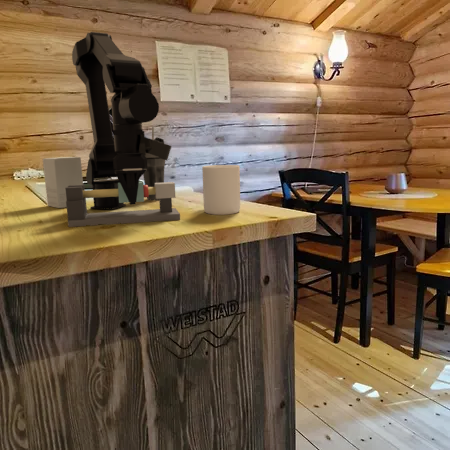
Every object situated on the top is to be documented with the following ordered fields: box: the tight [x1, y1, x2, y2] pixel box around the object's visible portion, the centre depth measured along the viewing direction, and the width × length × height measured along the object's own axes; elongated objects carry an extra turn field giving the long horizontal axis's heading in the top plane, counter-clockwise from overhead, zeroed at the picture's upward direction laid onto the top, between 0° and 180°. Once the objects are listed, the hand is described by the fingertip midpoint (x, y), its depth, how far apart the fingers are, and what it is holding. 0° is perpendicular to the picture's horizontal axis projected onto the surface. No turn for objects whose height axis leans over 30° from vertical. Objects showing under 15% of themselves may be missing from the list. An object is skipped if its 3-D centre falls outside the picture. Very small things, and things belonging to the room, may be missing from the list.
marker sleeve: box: [118, 181, 145, 204], centre depth 88 cm, size 5×4×4 cm
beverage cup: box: [142, 126, 166, 201], centre depth 117 cm, size 7×7×20 cm
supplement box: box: [42, 156, 84, 209], centre depth 110 cm, size 7×7×13 cm
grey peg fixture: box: [65, 181, 181, 228], centre depth 88 cm, size 22×8×8 cm, turn 103°
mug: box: [201, 164, 241, 216], centre depth 96 cm, size 12×8×10 cm
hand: (132, 201), depth 88 cm, fingers open, 9 cm apart
